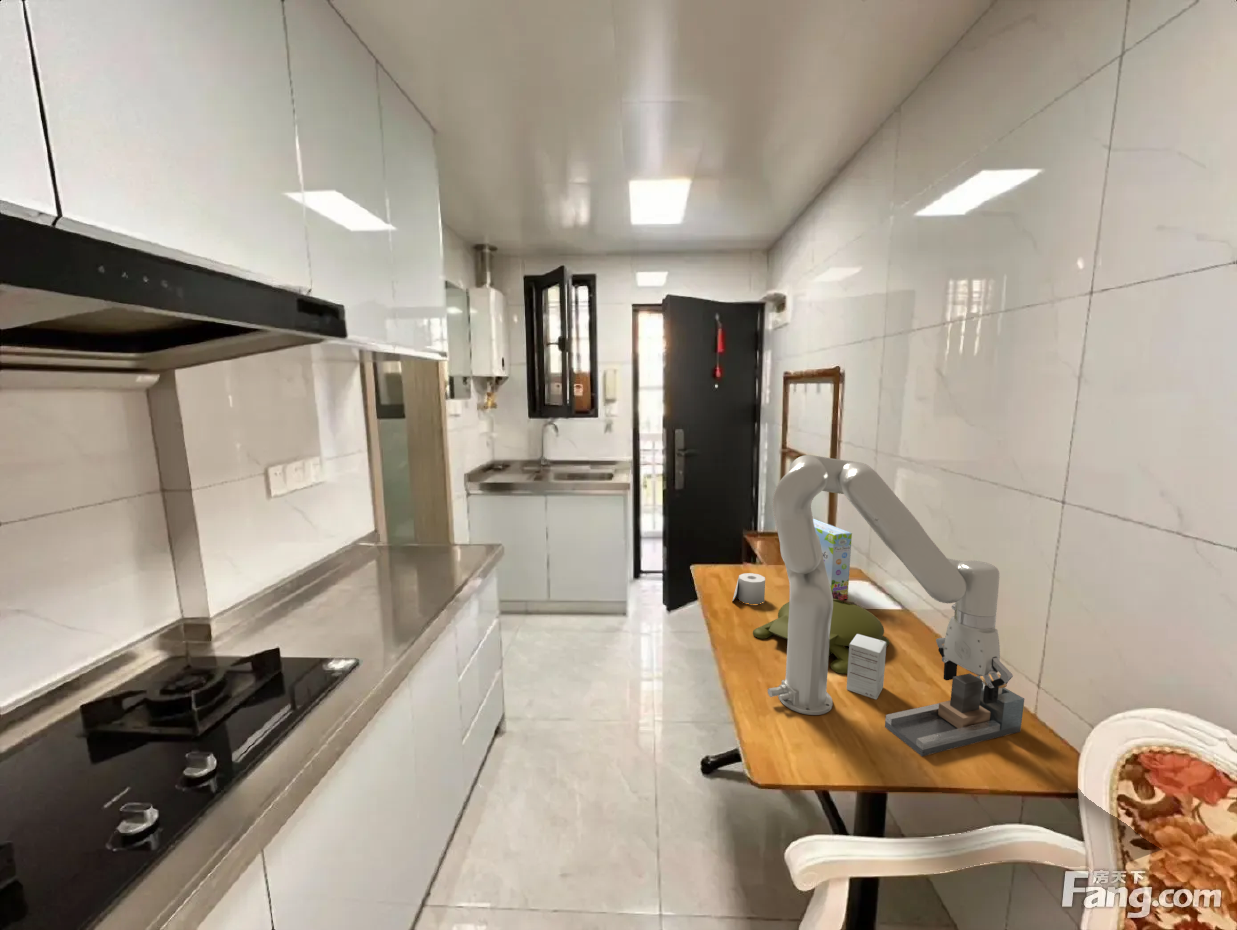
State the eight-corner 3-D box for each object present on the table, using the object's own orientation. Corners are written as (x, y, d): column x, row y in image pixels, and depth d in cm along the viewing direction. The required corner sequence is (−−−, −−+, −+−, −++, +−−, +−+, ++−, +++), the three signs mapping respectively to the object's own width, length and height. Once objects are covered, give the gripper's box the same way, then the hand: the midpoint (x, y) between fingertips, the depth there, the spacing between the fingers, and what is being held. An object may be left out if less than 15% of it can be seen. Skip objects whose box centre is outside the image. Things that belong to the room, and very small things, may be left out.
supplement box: (853, 677, 139) (856, 632, 137) (884, 687, 134) (887, 641, 132) (845, 689, 133) (848, 643, 131) (876, 700, 128) (880, 652, 126)
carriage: (961, 731, 114) (966, 688, 113) (937, 714, 120) (941, 674, 118) (989, 724, 116) (993, 682, 115) (964, 708, 122) (968, 669, 121)
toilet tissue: (726, 602, 187) (727, 580, 186) (747, 593, 196) (748, 571, 195) (748, 610, 180) (749, 587, 179) (769, 600, 189) (770, 577, 188)
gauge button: (992, 718, 117) (996, 685, 116) (971, 705, 122) (975, 673, 121) (1008, 714, 118) (1012, 681, 117) (987, 701, 123) (991, 670, 122)
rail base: (921, 756, 109) (925, 721, 107) (884, 727, 118) (887, 694, 117) (1020, 731, 117) (1024, 698, 115) (978, 706, 126) (981, 675, 125)
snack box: (792, 582, 207) (795, 519, 204) (810, 580, 210) (814, 517, 206) (829, 603, 187) (833, 533, 183) (849, 600, 189) (854, 532, 186)
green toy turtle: (844, 678, 139) (846, 644, 137) (748, 636, 162) (750, 607, 161) (900, 639, 161) (903, 609, 159) (809, 607, 184) (811, 581, 183)
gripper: (927, 605, 122) (923, 673, 124) (1000, 637, 105) (994, 716, 107) (952, 601, 124) (947, 668, 126) (1027, 632, 107) (1020, 709, 110)
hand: (969, 690), depth 117 cm, fingers open, 9 cm apart
